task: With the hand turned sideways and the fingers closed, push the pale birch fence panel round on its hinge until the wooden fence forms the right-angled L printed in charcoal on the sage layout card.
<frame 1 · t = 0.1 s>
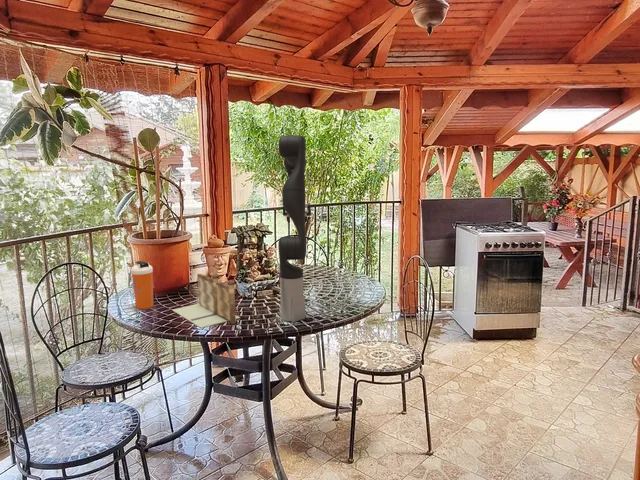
hand: (297, 222, 231), 31 cm above the table, tool tilted 20°, fingers open, 8 cm apart
fence panel: (206, 292, 190), point 8 cm above the table, hinge at 0.0°
kendama: (284, 287, 226), on the table
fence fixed: (217, 314, 185), on the table
shaker bottle: (144, 307, 196), on the table
layout card: (205, 314, 186), on the table
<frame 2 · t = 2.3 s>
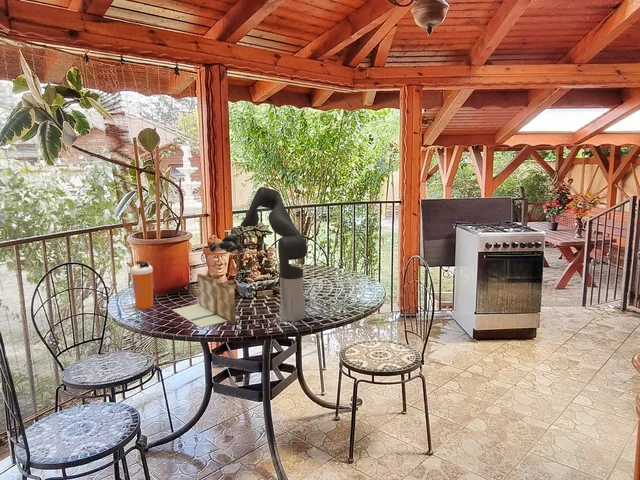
hand: (221, 250, 197), 24 cm above the table, tool horizontal, fingers open, 8 cm apart
nothing on the table moved.
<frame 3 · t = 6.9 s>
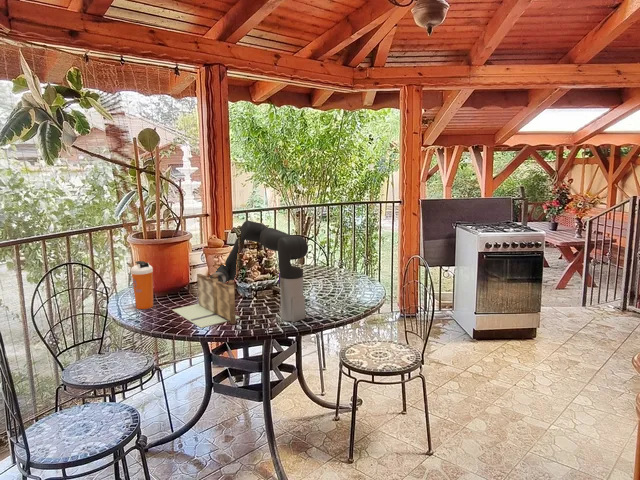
hand: (203, 291, 195), 6 cm above the table, tool horizontal, fingers closed
fence panel: (206, 292, 190), point 8 cm above the table, hinge at 0.5°, touching gripper
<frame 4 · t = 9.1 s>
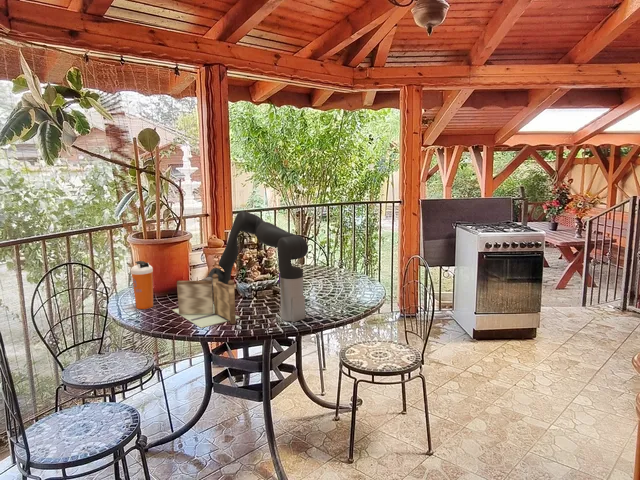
hand: (188, 299, 184), 6 cm above the table, tool horizontal, fingers closed
fence panel: (195, 297, 183), point 8 cm above the table, hinge at 51.0°, touching gripper
everything else where it was.
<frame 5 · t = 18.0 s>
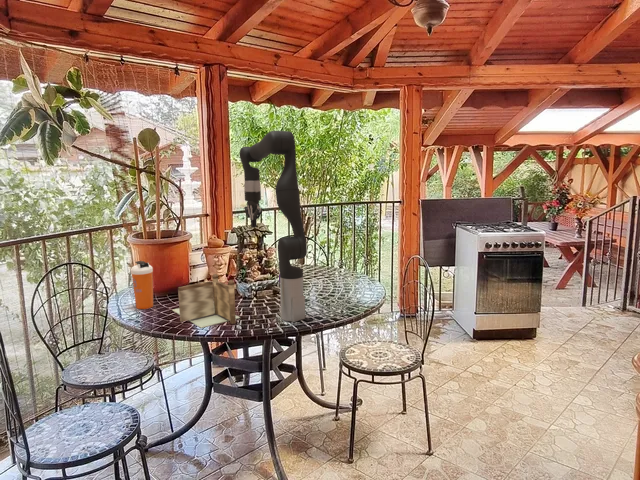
hand: (253, 227, 210), 32 cm above the table, tool pointing down, fingers closed
fence panel: (196, 301, 178), point 8 cm above the table, hinge at 89.2°
at the end: fence panel at +89° (first picture: +0°) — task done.
